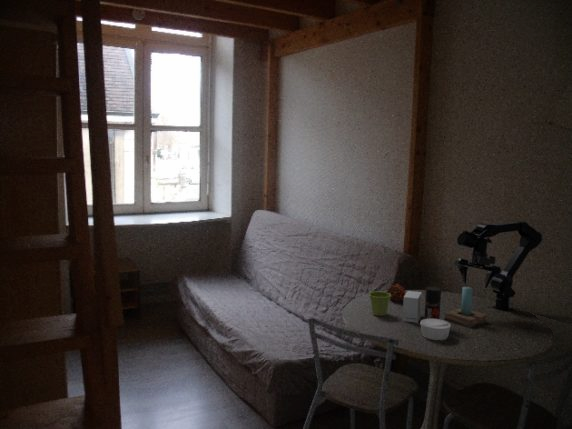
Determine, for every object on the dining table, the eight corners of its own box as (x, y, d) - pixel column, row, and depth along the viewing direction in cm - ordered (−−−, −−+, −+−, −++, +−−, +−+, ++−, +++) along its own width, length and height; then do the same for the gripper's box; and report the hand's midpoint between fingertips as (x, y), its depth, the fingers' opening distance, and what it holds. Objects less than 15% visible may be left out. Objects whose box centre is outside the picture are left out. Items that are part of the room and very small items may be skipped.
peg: (464, 316, 220) (466, 286, 219) (472, 318, 217) (474, 288, 216) (458, 318, 218) (460, 287, 216) (467, 320, 215) (469, 289, 213)
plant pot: (365, 315, 222) (366, 295, 221) (370, 309, 231) (371, 290, 230) (387, 318, 219) (388, 298, 218) (392, 312, 228) (393, 292, 227)
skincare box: (406, 313, 226) (407, 290, 224) (421, 315, 223) (422, 291, 222) (401, 321, 216) (403, 296, 215) (417, 323, 214) (419, 298, 212)
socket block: (461, 314, 226) (461, 307, 226) (486, 322, 217) (487, 315, 216) (444, 319, 219) (444, 312, 218) (469, 327, 209) (470, 320, 209)
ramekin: (445, 344, 191) (446, 330, 190) (415, 337, 197) (416, 324, 196) (453, 335, 201) (454, 321, 200) (424, 329, 206) (425, 316, 206)
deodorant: (439, 323, 214) (441, 287, 212) (438, 328, 208) (440, 291, 206) (424, 321, 216) (426, 286, 214) (423, 326, 210) (425, 289, 208)
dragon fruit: (398, 307, 240) (390, 303, 251) (412, 296, 240) (404, 293, 252) (387, 292, 239) (380, 289, 251) (402, 281, 240) (394, 279, 252)
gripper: (465, 243, 221) (461, 279, 217) (509, 252, 221) (504, 289, 217) (456, 247, 232) (451, 282, 228) (497, 256, 232) (493, 291, 228)
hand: (475, 286), depth 225 cm, fingers open, 9 cm apart
